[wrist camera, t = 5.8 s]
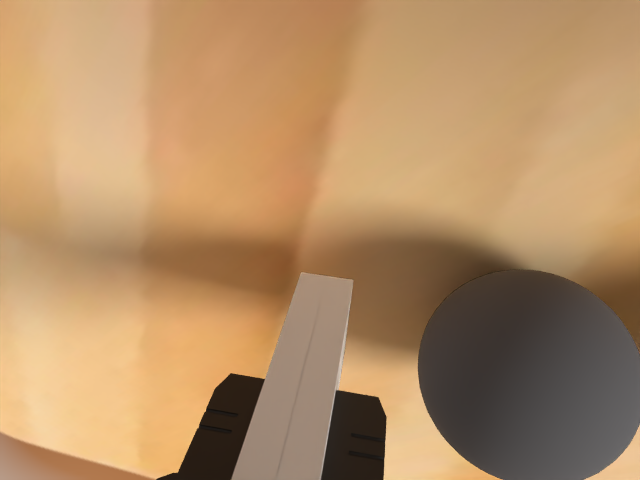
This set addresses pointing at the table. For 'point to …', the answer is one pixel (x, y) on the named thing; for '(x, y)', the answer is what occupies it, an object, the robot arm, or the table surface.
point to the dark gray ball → (530, 377)
